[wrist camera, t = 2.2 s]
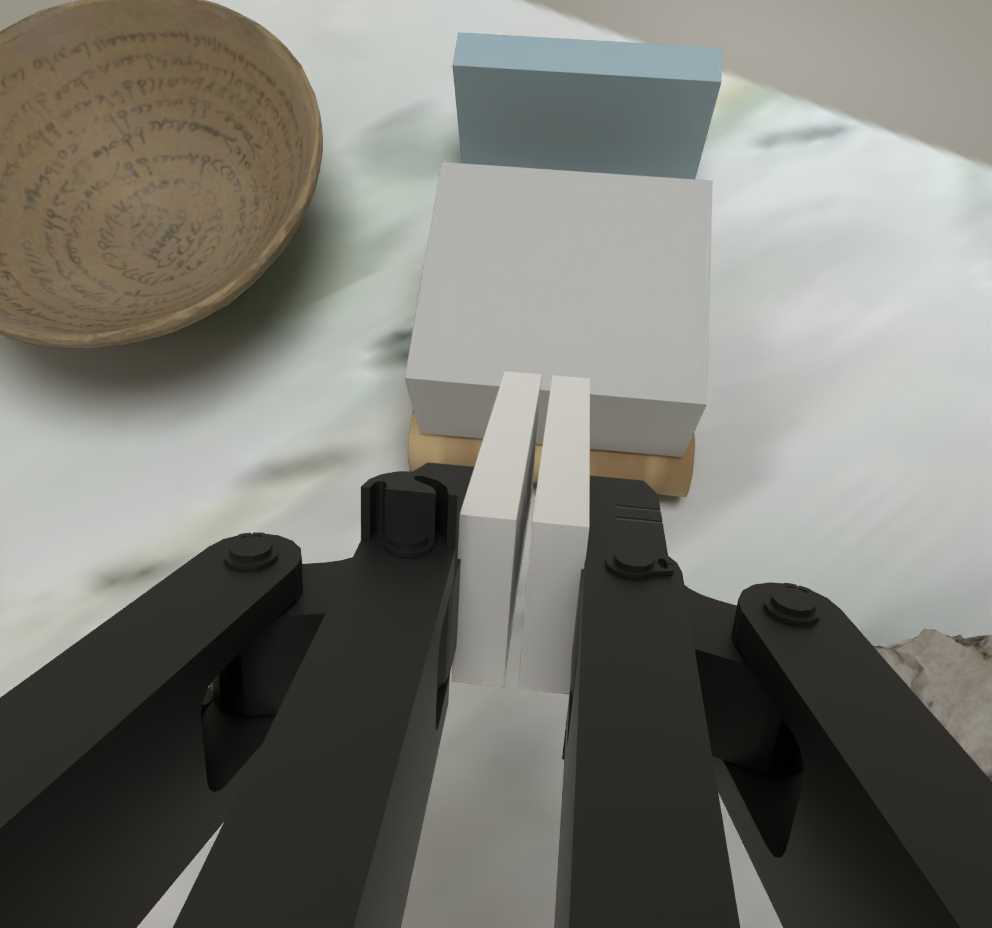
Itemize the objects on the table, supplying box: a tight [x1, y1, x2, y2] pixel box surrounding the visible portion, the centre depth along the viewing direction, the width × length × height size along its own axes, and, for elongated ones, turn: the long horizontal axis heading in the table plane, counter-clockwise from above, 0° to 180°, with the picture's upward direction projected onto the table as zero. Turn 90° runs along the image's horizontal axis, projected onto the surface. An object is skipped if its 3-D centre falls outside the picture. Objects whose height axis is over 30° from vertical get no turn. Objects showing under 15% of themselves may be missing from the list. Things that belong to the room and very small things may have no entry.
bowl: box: [0, 0, 323, 348], centre depth 40 cm, size 18×18×8 cm
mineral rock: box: [873, 629, 992, 781], centre depth 32 cm, size 15×8×4 cm, turn 79°
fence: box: [453, 33, 722, 180], centre depth 42 cm, size 12×2×7 cm, turn 84°
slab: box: [405, 162, 712, 457], centre depth 36 cm, size 11×10×5 cm
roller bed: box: [408, 410, 695, 497], centre depth 40 cm, size 12×15×3 cm
